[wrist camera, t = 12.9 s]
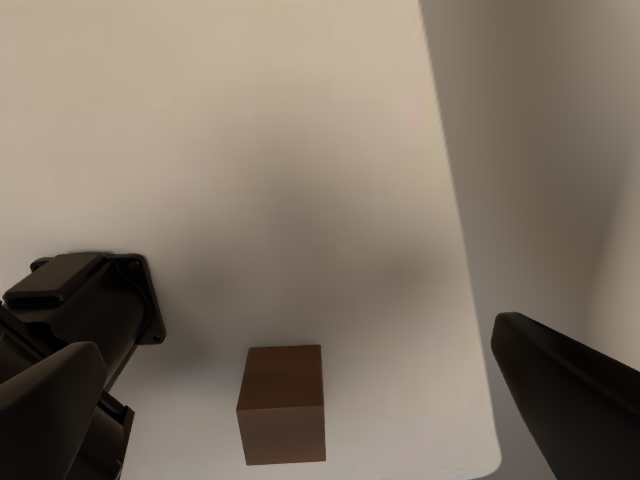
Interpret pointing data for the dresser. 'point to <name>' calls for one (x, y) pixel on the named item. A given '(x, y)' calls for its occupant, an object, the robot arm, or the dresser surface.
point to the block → (282, 406)
